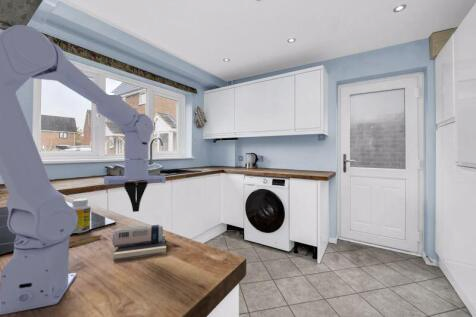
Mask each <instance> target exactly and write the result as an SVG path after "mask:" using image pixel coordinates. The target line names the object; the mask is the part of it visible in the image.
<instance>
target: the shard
mask: <svg viewBox="0 0 476 317" xmlns="http://www.w3.org/2000/svg"><path fill="white" fill-rule="evenodd" d="M101 238H102V235H72V236H71V235H70V238H69V248H72V247H76V246H80V245H84V244H87V243H88V244H89V243H91V242H94V241H98V240H100V239H101Z"/></svg>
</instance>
